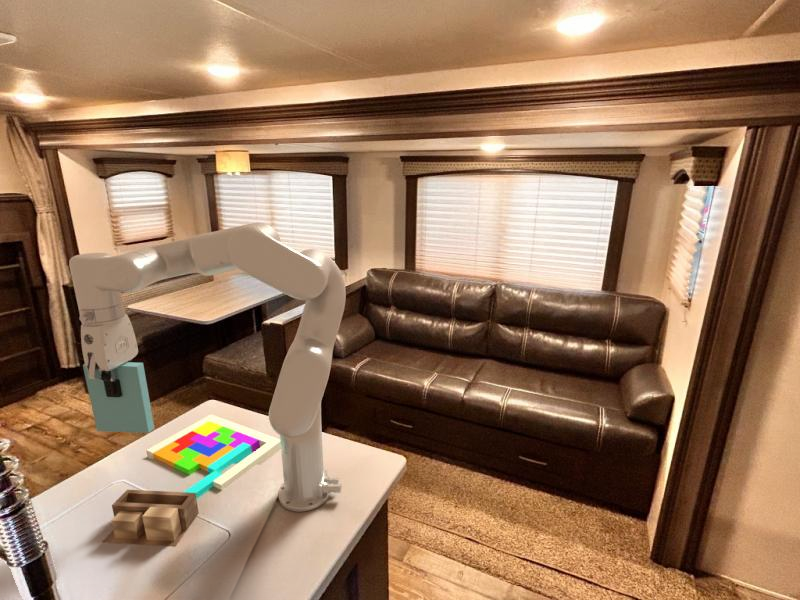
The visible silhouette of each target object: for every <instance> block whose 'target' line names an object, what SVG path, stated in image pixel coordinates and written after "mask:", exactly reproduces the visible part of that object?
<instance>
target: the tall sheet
mask: <svg viewBox="0 0 800 600" xmlns="http://www.w3.org/2000/svg"><path fill="white" fill-rule="evenodd" d="M82 367H83V372H84V378H85V382H86V387H87V391H88V396H89V399H90V404H91V405H90V406H91V409H92V415H93V420H94V422H95V428H96V432H109V433H110V432H112V433H113V432H114V433H132V434H133V433H136V434H150V433H151V432H152V431H153V430H154V429H155V423H154V417H153V412H152V407H151V400H150V394H149V389H148V383H147V378H146V372H145V366H144V362H132V361H130V362H126V363H124V364H122V365H121V366H119V367H117V368H115V372H116V377H117V379H119V381H120V386H121V391H122V396H121V397H107V396H106V391H105V387H104V382H103V381H101V380H100V379H89V377H88V376H89V370H88V369H87V368H86V365H85V363H84V364H82ZM105 372H106V373H108V374H109V372H108V371H105Z"/></svg>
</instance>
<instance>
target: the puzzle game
mask: <svg viewBox="0 0 800 600" xmlns="http://www.w3.org/2000/svg"><path fill="white" fill-rule="evenodd" d="M259 447H260V448H259ZM280 449H281V440H280V438H278V437H275V436H272V435H269V434H266V433H264V432H262V431H261V432H260V431H258V430H256V429H253V428H250V427H248V426H245V425H242V424H239V423H236V422H234V421H230V420H228V419H225V418H222V417H219V416H218V415H214V414H212V413H211V414H208V415H207V416H205V417H204V418H201V419H200V420H198V421H196V422H194V423H192V424H191V425H189V426H187V427H186V428H183V429H181V430H180V431H178V432H175V433H174V434H173V435H171V436H169V437H167V438H165V439H164V440H162V441H160V442H159V443H156V444H155V445H153V446H151V447H150V448H147V449H146V455H147V459H149V460H151V461H159V462H162V463H164V464H165V465H168V466H169V467H172V468H174V469H177V470H179V471H181V472H182V473H185V474H187V475H189V476H191V475H192V474H194V473H196V472H197V471H198V470H200V469H201V470H202V471H205V472H207V473H209V474H207V475H206V476H204V477H202V478H201V479H200V480H199V481H198V482H196V483H194V484H193V485H192V486H190V487H189V488H188V489H186V490H184V491H183V492H187V493H196V499H197V500H198V499H199V498H200V497H201V496H203V495H204V494H205V493H207V492H208V491H210V490H211V489H212V488H216V489H218V490H221V491H224V490H225V489H226V488H227V487H229V486H230V485H231V484H232V483H234V482H235V481H237V480H238V479H239V478H241V477H242V476H243V475H244V474H246V473H247V472H249V471H251V469H253V468H254V467H255V466H257V465H263V463H265V462H266V461H268V460H269V459H271V457H273V456H274V455H275V454H277V453H278V452H280V451H281V450H280ZM255 450H256V451H255ZM232 464H235V465H234V466H232V467H230V468H229V466H231V465H232ZM227 468H229V469H227ZM226 469H227V470H226ZM224 470H226V471H225V472H223V473H222V471H224Z"/></svg>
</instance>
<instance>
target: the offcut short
mask: <svg viewBox="0 0 800 600" xmlns="http://www.w3.org/2000/svg"><path fill="white" fill-rule="evenodd" d="M142 516H143V512H129V511H120V512H119V513H118V514H117V515H116V516H115V517H114V516H113V518H112V519H111V525H112V531H113V530H114V535H115V538H126V539H138V538H139V537H140V536H141V535H142V534H143V532H144V531H145V527H144V522H143V517H142Z"/></svg>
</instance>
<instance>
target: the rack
mask: <svg viewBox="0 0 800 600" xmlns="http://www.w3.org/2000/svg"><path fill="white" fill-rule="evenodd" d="M111 507H112V513H113V518H114V517H115V516H116V515H117V514H118V513H119V512H120V511H129V512H143V515H144V514H145V512H146V511H147V510H148V509H149V508H150V507H164V508H178V514H179V520H180V525H181V533H180V534H179V535H178V537H177V538H176V540H175V541H162V540H147V537H146V532H145V531H144V532H143V534H142V535H141V536H140V537H139V538H138V539H126V538H115V535H114V530H113V529H112V531H110V533H109V534H108V535H107V536H106V537H105V538H104V539H103V540H102V541H101V543H109V544H125V545H144V546H158V547H159V546H161V547H177V545H178V544H179V543H180V541H181V540H182V538H183V537H184V535H185V534H186V533H187V531H188V530H189V528H190V526H191V525H192V524H193V522H194V521H195V520H196V518H197V517H198V515H199V507H198V498H197V499H196V493H187V492H184V491H164V490H163V491H161V490H160V491H159V490H145V489H144V490H143V489H142V490H141V489H126V490H125V491H124V492H123V493H122V494H121V496H119V497H118V498H117V499H116V500H115V501H114V502H113V504H112V505H111Z"/></svg>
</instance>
